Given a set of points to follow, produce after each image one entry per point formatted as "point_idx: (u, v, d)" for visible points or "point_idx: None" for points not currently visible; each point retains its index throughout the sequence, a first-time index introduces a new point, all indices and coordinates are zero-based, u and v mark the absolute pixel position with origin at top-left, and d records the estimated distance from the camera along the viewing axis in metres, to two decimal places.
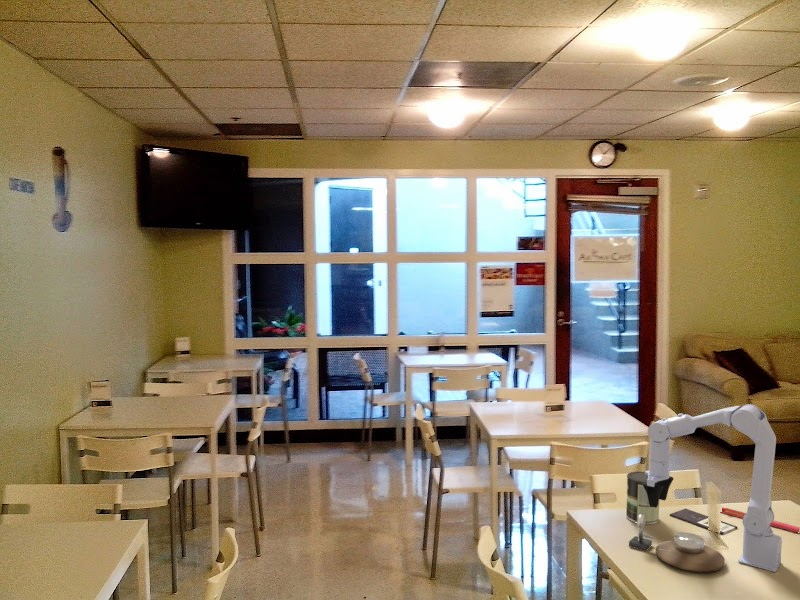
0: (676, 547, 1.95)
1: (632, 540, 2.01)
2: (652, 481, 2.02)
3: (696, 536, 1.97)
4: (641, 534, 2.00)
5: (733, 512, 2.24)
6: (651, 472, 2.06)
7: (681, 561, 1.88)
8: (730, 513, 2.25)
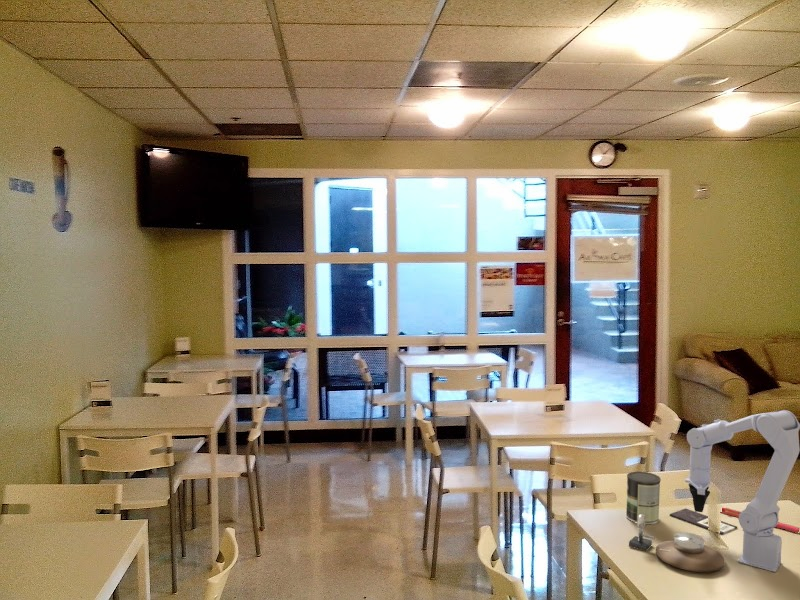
0: (676, 547, 1.95)
1: (632, 540, 2.01)
2: (703, 489, 2.00)
3: (696, 536, 1.97)
4: (641, 534, 2.00)
5: (733, 512, 2.24)
6: (695, 480, 2.05)
7: (681, 561, 1.88)
8: (730, 513, 2.25)
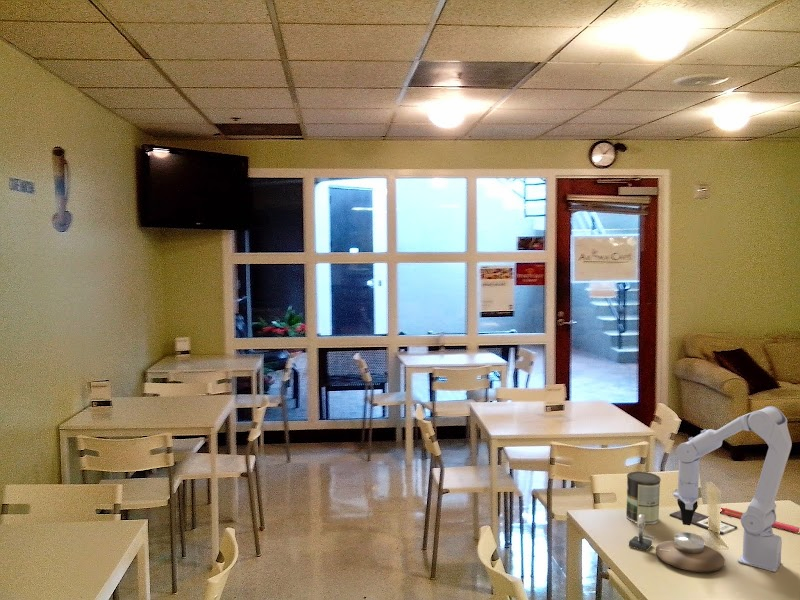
0: (676, 547, 1.95)
1: (632, 540, 2.01)
2: (691, 504, 1.98)
3: (696, 536, 1.97)
4: (641, 534, 2.00)
5: (732, 512, 2.24)
6: (683, 494, 2.03)
7: (681, 561, 1.88)
8: (729, 513, 2.24)
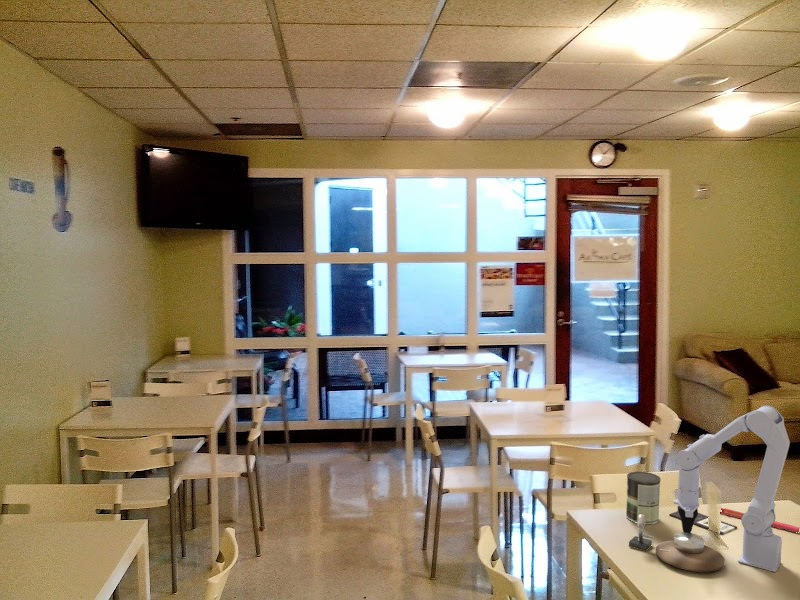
0: (676, 547, 1.95)
1: (632, 540, 2.01)
2: (691, 512, 1.97)
3: (696, 536, 1.97)
4: (641, 534, 2.00)
5: (732, 512, 2.24)
6: (683, 502, 2.02)
7: (681, 561, 1.88)
8: (729, 514, 2.24)
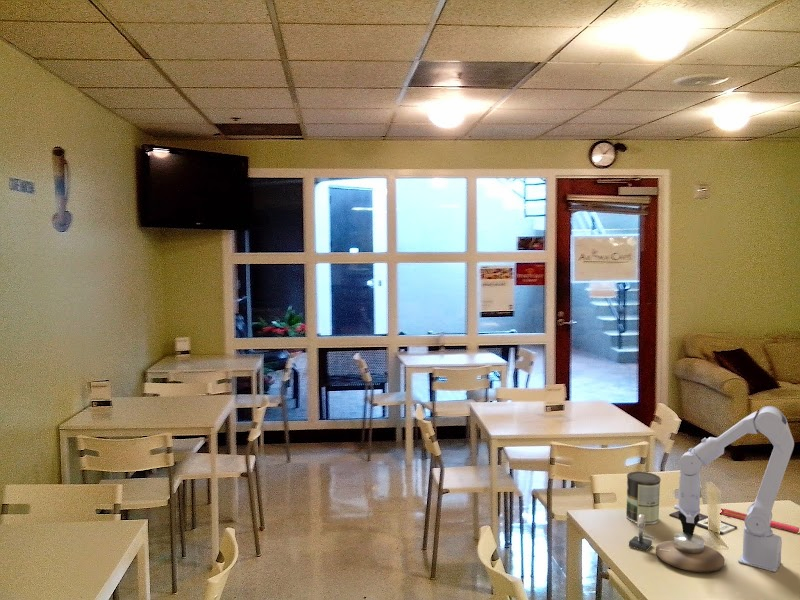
0: (676, 547, 1.95)
1: (632, 540, 2.01)
2: (692, 517, 1.93)
3: (696, 536, 1.97)
4: (641, 534, 2.00)
5: (732, 513, 2.24)
6: (684, 507, 1.98)
7: (681, 561, 1.88)
8: (729, 514, 2.24)
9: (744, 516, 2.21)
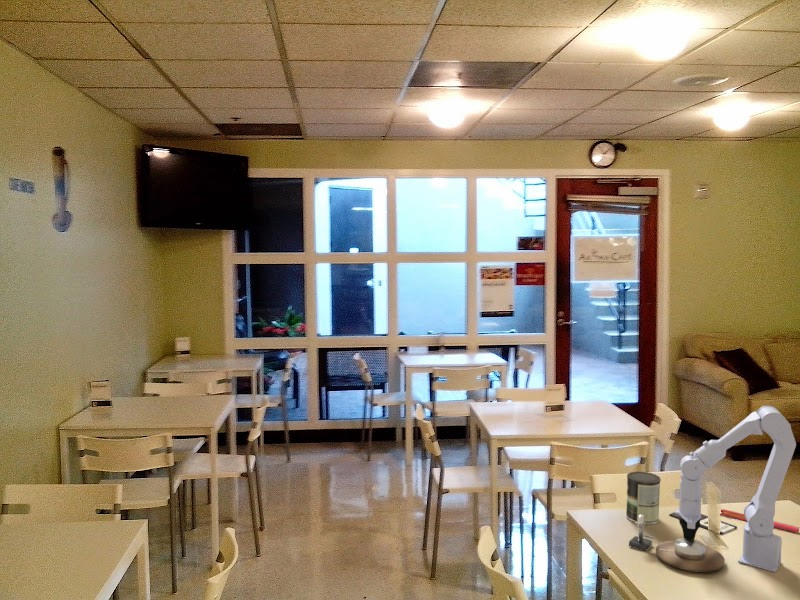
0: (677, 553, 1.91)
1: (632, 540, 2.01)
2: (693, 523, 1.89)
3: (697, 542, 1.93)
4: (641, 534, 2.00)
5: (731, 513, 2.23)
6: (685, 512, 1.94)
7: (681, 561, 1.88)
8: (728, 514, 2.23)
9: (744, 516, 2.21)
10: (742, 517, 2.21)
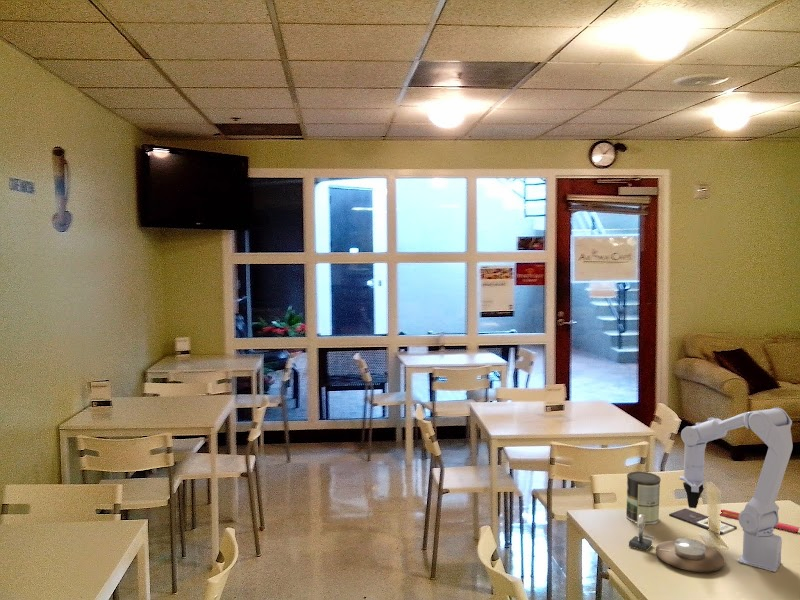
0: (677, 553, 1.91)
1: (632, 540, 2.01)
2: (697, 487, 2.02)
3: (697, 542, 1.93)
4: (641, 534, 2.00)
5: (731, 513, 2.23)
6: (689, 477, 2.07)
7: (681, 561, 1.88)
8: (728, 515, 2.23)
9: None
10: None
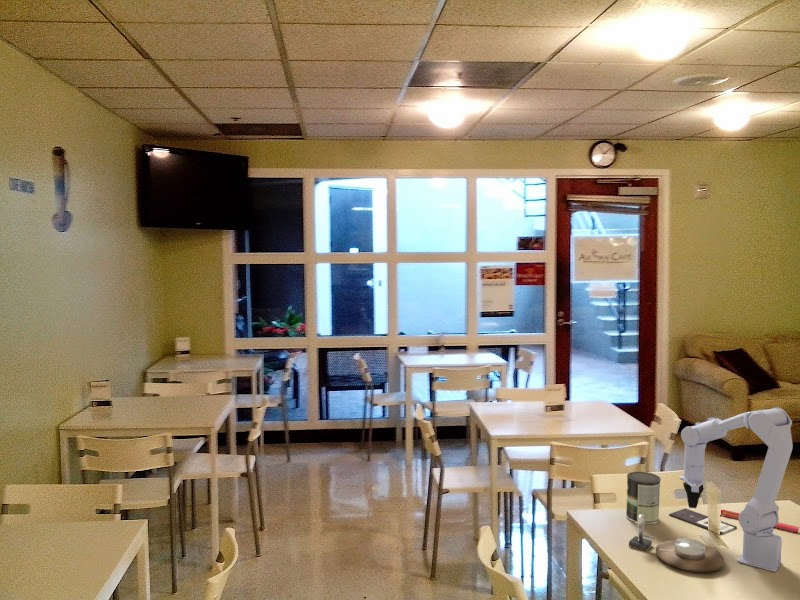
0: (677, 553, 1.91)
1: (632, 540, 2.01)
2: (697, 487, 2.02)
3: (697, 542, 1.93)
4: (641, 534, 2.00)
5: (731, 514, 2.23)
6: (689, 477, 2.07)
7: (681, 561, 1.88)
8: (728, 515, 2.23)
9: None
10: None
